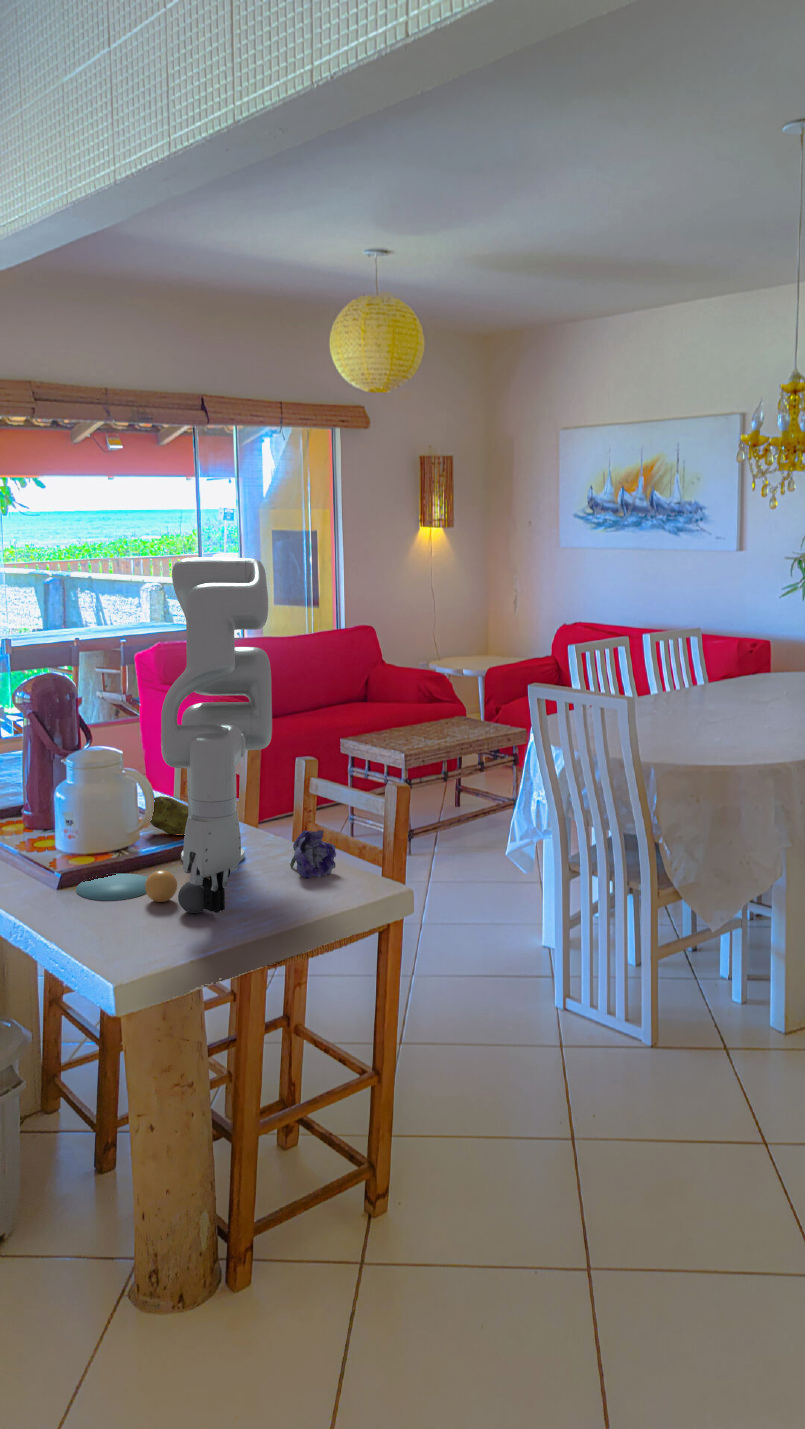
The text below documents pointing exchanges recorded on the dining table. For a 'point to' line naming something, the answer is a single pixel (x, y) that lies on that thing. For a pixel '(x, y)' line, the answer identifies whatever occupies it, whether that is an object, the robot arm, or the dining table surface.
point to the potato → (169, 815)
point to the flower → (313, 854)
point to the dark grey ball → (191, 898)
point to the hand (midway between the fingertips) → (214, 909)
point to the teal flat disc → (113, 887)
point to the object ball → (161, 886)
